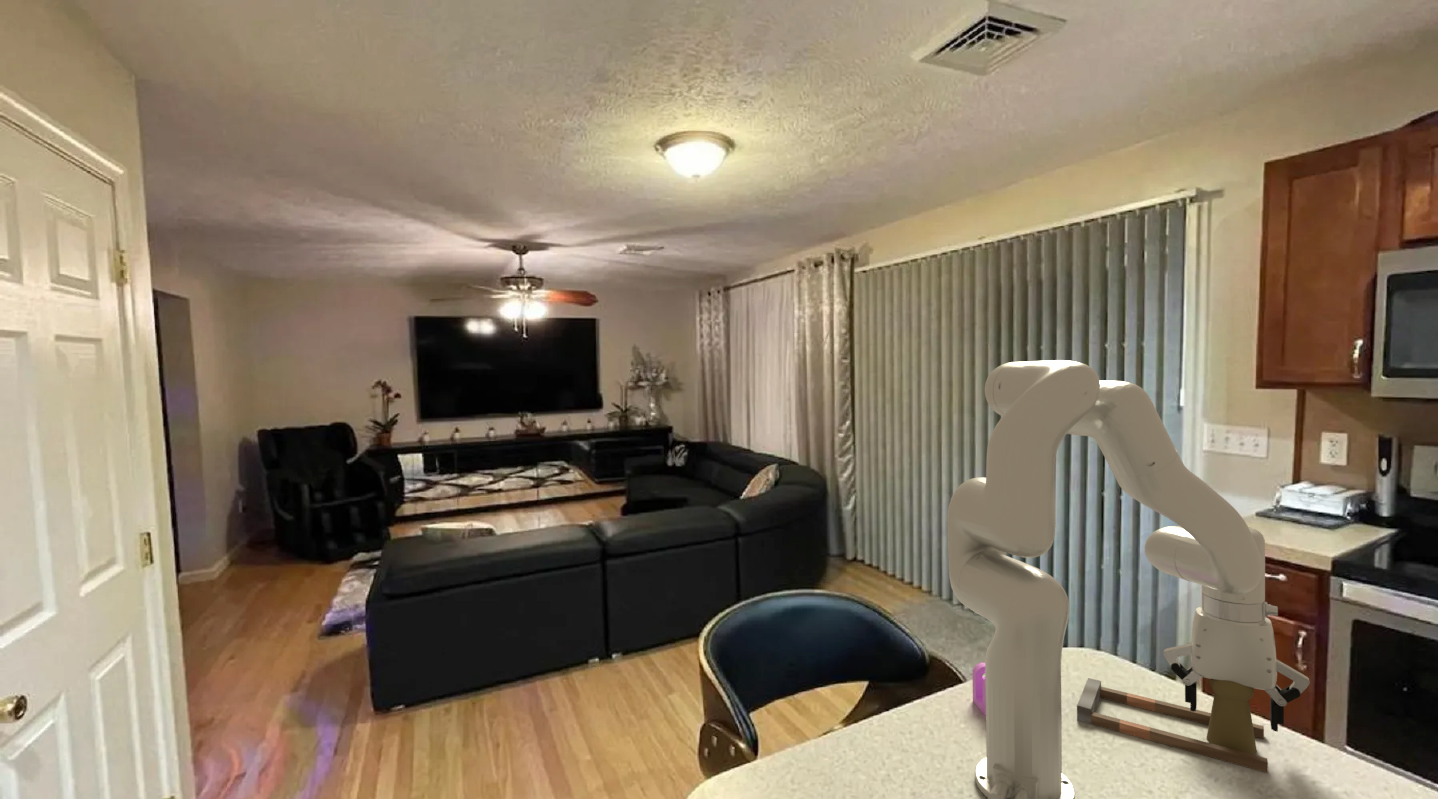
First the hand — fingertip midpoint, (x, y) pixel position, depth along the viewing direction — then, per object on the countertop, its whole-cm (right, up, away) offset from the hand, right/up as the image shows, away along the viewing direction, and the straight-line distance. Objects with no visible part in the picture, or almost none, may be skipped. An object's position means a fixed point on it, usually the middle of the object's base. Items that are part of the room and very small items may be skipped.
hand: (1232, 717), depth 98 cm
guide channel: (-6, -4, +5) cm, 9 cm away
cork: (0, -5, 0) cm, 5 cm away
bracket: (-27, -5, +13) cm, 30 cm away
